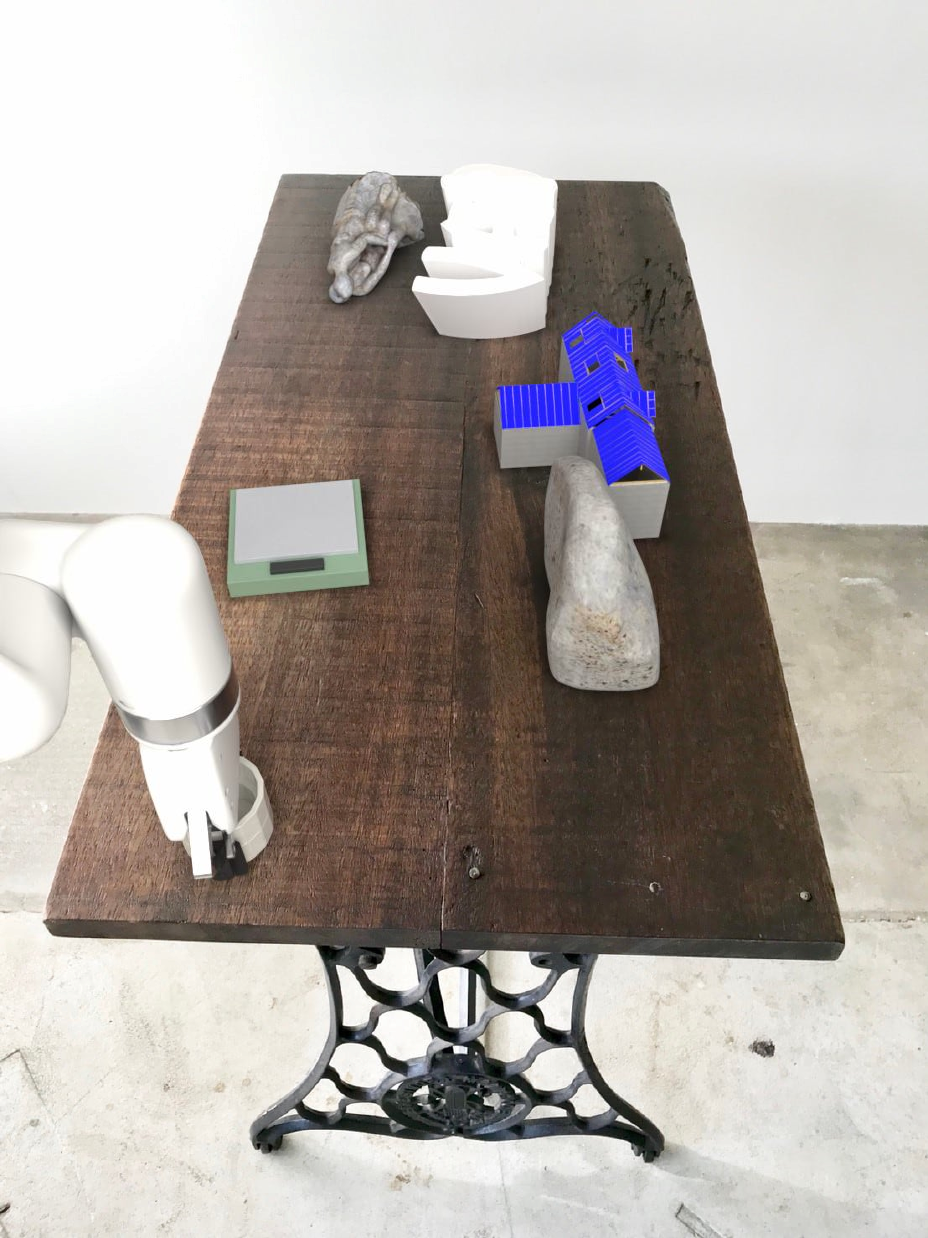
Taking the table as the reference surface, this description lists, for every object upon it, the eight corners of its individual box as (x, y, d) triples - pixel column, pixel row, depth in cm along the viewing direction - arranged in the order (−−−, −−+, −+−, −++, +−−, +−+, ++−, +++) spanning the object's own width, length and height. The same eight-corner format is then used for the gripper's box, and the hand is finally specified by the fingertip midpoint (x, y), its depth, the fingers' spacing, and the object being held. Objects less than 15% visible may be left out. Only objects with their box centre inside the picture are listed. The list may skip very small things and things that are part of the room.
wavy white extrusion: (535, 368, 114) (541, 287, 107) (400, 353, 116) (395, 272, 108) (568, 226, 137) (575, 150, 129) (454, 215, 139) (454, 140, 131)
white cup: (181, 877, 72) (164, 841, 68) (186, 797, 77) (170, 758, 72) (274, 866, 73) (263, 829, 69) (274, 787, 77) (263, 748, 73)
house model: (664, 536, 96) (681, 458, 88) (514, 546, 95) (518, 467, 88) (616, 386, 112) (627, 309, 105) (487, 393, 111) (489, 316, 104)
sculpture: (379, 347, 126) (294, 310, 124) (416, 258, 135) (337, 222, 133) (401, 287, 117) (309, 246, 115) (439, 195, 126) (354, 155, 124)
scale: (230, 597, 91) (225, 578, 89) (233, 504, 99) (229, 485, 97) (369, 584, 92) (367, 565, 90) (360, 493, 100) (358, 474, 98)
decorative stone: (661, 710, 82) (544, 714, 82) (625, 544, 95) (524, 548, 95) (697, 577, 70) (559, 582, 69) (650, 407, 82) (533, 410, 82)
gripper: (128, 591, 66) (184, 738, 79) (99, 816, 55) (171, 942, 68) (239, 581, 67) (276, 728, 80) (234, 801, 55) (278, 929, 69)
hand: (227, 825), depth 74 cm, fingers closed on white cup, 7 cm apart
